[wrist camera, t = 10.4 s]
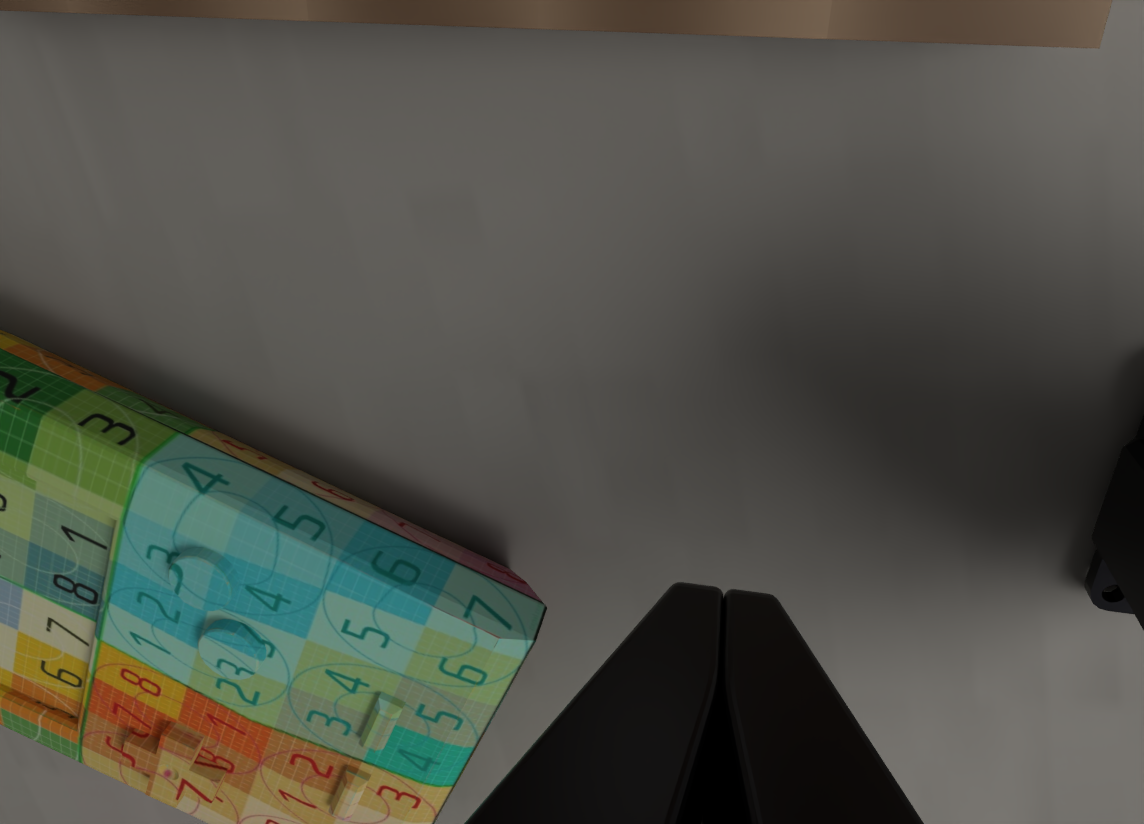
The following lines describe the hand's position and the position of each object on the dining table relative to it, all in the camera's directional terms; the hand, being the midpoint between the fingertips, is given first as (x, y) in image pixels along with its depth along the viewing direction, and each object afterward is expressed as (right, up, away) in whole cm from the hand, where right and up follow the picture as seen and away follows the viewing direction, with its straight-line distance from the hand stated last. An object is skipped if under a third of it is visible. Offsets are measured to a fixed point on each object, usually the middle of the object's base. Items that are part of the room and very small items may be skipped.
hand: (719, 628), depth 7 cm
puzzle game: (-13, -2, +19) cm, 23 cm away
